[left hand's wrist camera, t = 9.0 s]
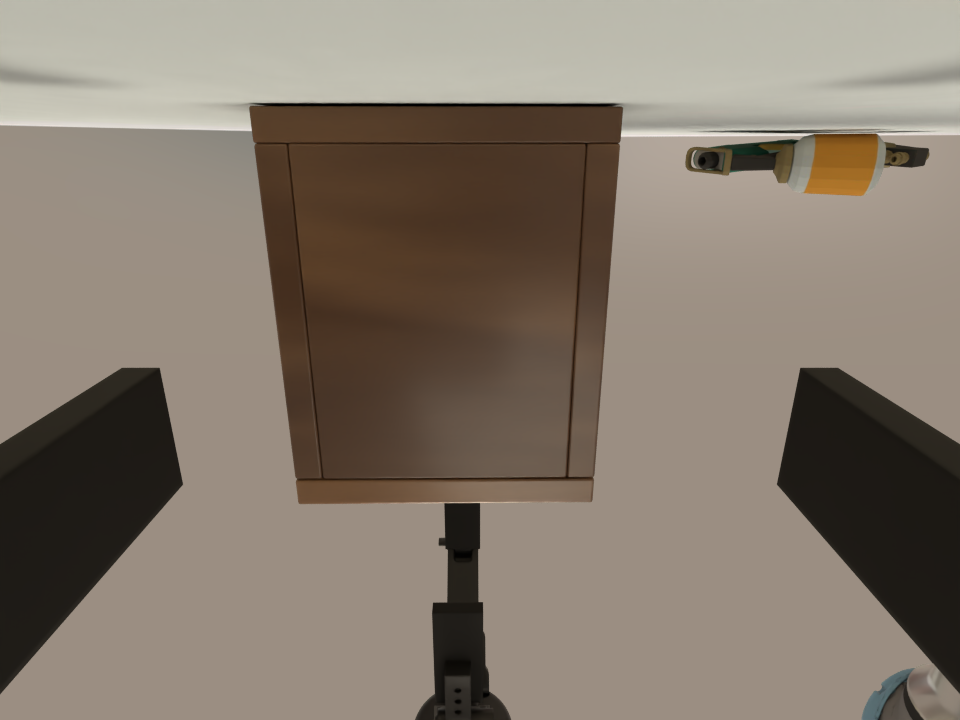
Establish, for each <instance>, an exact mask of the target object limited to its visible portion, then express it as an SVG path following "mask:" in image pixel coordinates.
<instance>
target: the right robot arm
mask: <svg viewBox="0 0 960 720" xmlns="http://www.w3.org/2000/svg"><path fill="white" fill-rule="evenodd" d="M439 546H446V549H447V550H448V597H447V603H433V610H432V620H433V648H434V677H435V694H434V695H433V696H431V697H430V698H429V699H428V700H427V701H426V702H425V703H424V704H423V706H422V707H421V709H420V710H419V712H418V714H417V717H416V719H415V720H511V718H510V715H509V713H508V711H507V709H506V707H505V706H504V704H503V703H502V702H501V701H500V700H499V699H498V698H497V697H496V696H495V695H493V694H492V693H491V692H489V673H488V669H487V667H486V666H485V634H484V632H483V602H478V549H480V503H445V538H439ZM862 720H960V694H959V693H958V691H957V690H956V689H955V688H954V687H953V686H952V685H951V683H950V682H949V681H948V680H947V679H946V678H945V677H944V675H943V674H942V673H941V672H940V671H939V670H938V669H937V667H936V666H935V665H934V664H933V663H931V664H924V665H920V666H918V667H916V668H912V669H906V670H903V671H900V672H898V673H896V674H894V675H892V676H890V677H889V678H888V679H886V680H885V681H884V682H882V689H881V690H880V691H874V692H873V694H872V695H871V696H870V698H869V699H868V702H867V704H866V706H865V708H864V711H863V715H862Z"/></svg>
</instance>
